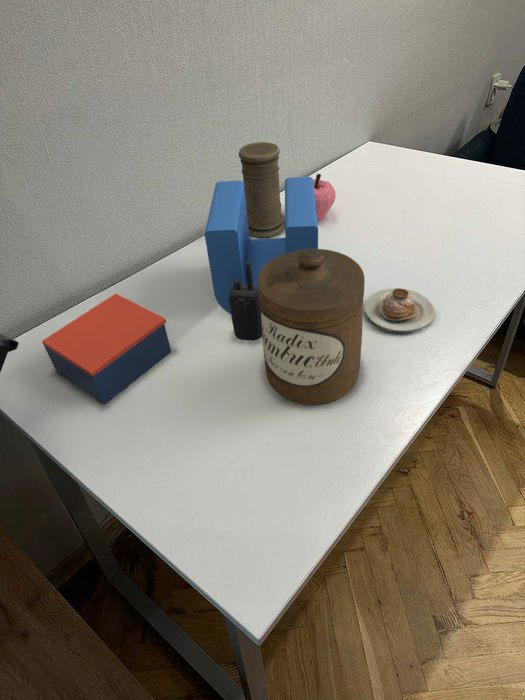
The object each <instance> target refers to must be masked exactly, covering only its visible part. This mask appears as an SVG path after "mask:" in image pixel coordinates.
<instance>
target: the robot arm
mask: <svg viewBox="0 0 525 700" xmlns="http://www.w3.org/2000/svg"><path fill="white" fill-rule="evenodd" d="M19 343H20V342H19V341H18V340H16V339H14V338H12V337H9V336H7V335H5V334H2V333H0V373H1V372H2V370H3V367H4V364H5V362H6V359H7V356H8V354H9V353H10V352H12V351H16V350H17V349H18V347H19Z"/></svg>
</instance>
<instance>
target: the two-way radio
mask: <svg viewBox="0 0 525 700" xmlns="http://www.w3.org/2000/svg"><path fill="white" fill-rule="evenodd" d="M246 276H247V285H241V284H240V281H239V280H235V281H234V284H233V287H232V289H231V290H230V294H229V305H230V310H231V314H230V317H231V324H232V328H233V333H234V336H235V338H236V339H238V340H241V341H248V342H249V341H250V342H252V341H254V342H255V341H259V340H260V339H262V338H263V337H262V319H261V305H260V300H259V293H258V288H257V287H256V286H253V277H252V270H251V263H250V262H246Z"/></svg>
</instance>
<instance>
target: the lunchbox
mask: <svg viewBox="0 0 525 700" xmlns="http://www.w3.org/2000/svg"><path fill="white" fill-rule="evenodd" d="M165 325H166V324H163V325H162V326H160V327H159V328H158V329H156V330H155V331H154V332H152V333H151V334H150V335H148V336H147V337H146V338H144V339H143V340H141V341H140V342H139V343H137V344H136V345H135V346H133V347H132V348H131V349H129V350H128V351H126V352H125V353H124V354H122V355H121V356H120V357H118V358H117V359H116V360H114V361H113V362H111V363H110V364H109V365H107V366H106V367H105V368H103V369H102V370H101V371H99V372H98V373H97V374H95V375H94V376H91V375H89V374H88V373H86V372H84V371H83V370H81V369H80V368H78V367H77V366H75V365H74V364H72V363H71V362H69V361H68V360H66V359H65V358H63V357H61V356H60V355H58V354H57V353H55V352H54V351H52V350H51V349H49V348H48V347H46V346H45V345H43V347H44V349H45V351H46V354H47V355H48V357H49V359H50V361H51V363H52V366H53V368H54V370H55V372H56V373H57V374H58V375H59V376H61V377H63V378H64V379H65V380H67V381H68V382H70V384H72V385H74V386H75V387H77V388H78V389H80V390H82V391H83V392H84V393H86V394H87V395H89V397H92V398H93V399H95V400H96V401H98V402H99V403H100V404H102V405H103V406H105V405H107V404H108V403H109V402H111V400H113V399H115V397H117V396H118V395H120V393H122V392H123V391H125V390H126V389H127V388H128V387H130V386H131V385H132V384H133V383H135V382H136V381H137V380H138V379H140V378H141V377H142V376H143V375H145V374H146V373H147V372H149V370H151V369H152V368H154V367H155V366H156V365H157V364H158V363H160V362H161V361H163V359H165V358H166V357H167V356H169V355H170V354H171V353H172V349H171V345H170V341H169V337H168V333H167V330H166V326H165Z"/></svg>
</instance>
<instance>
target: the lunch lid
mask: <svg viewBox="0 0 525 700" xmlns="http://www.w3.org/2000/svg"><path fill="white" fill-rule="evenodd" d="M163 324H164V325H166V324H167V320H166V318H165V317H163V316H162V315H160V314H157V313H155V312H153V311H152V310H151V309H147V308H146V307H143V306H141V305H140V304H137V303H135V302H134V301H132V300H131V299H130V300H129V299H128V298H126V297H124V296H122V295H120V294H118V293H114V294H112V295H111V296H109V297H108V298H106V299H104V300H103V301H102V302H100V303H98V304H96V306H94V307H93V308H90V309H89V310H88V311H86V312H85V313H83V314H81V315H80V316H78V317H77V318H75V319H74V320H72V321H71V322H69V323H67V324H66V325H64V326H62V327H61V328H59V329H57V331H55V332H53V333H52V334H50V335H49V336H47V337H45V338H44V339H42V340H41V343H42V345H43V346H44V345H45V346H46V347H48V348H49V349H51V350H52V351H54V352H55V353H57V354H58V355H60V356H61V357H63V358H65V359H66V360H68V361H69V362H71V363H72V364H74V365H75V366H77V367H78V368H80V369H81V370H83V371H84V372H86V373H88V374H89V375H91V376H94V375H95V374H97V373H98V372H99V371H101V370H102V369H103V368H105V367H106V366H107V365H109V364H110V363H111V362H113V361H114V360H116V359H117V358H118V357H120V356H121V355H122V354H124V353H125V352H126V351H128V350H129V349H131V348H132V347H133V346H135V345H136V344H137V343H139V342H140V341H141V340H143V339H144V338H146V337H147V336H148V335H150V334H151V333H152V332H154V331H155V330H156V329H158V328H159V327H160V326H162V325H163Z"/></svg>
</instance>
